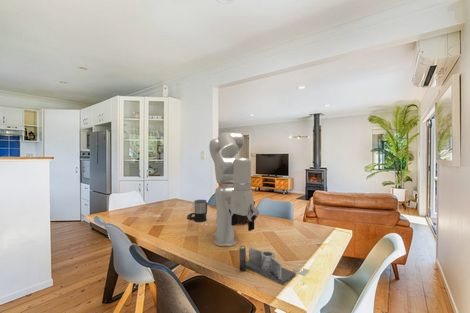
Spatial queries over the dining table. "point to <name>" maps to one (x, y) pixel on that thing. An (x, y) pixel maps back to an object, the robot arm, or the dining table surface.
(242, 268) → the hinge pin
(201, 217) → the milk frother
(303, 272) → the mounting bracket
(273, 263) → the hinge leaf
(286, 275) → the hinge stand
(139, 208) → the dining table surface
